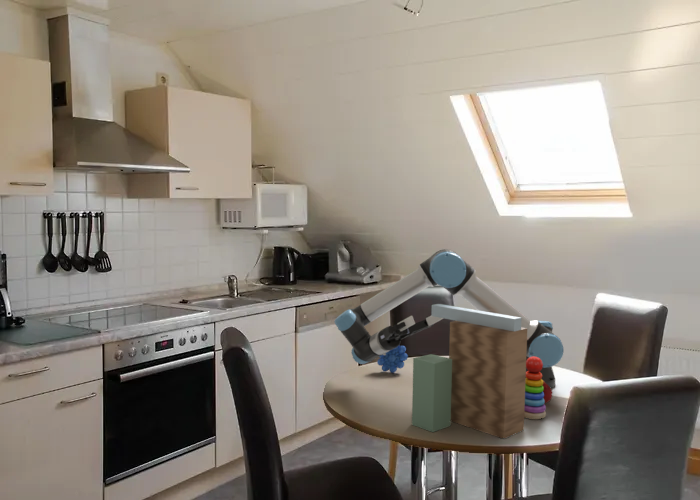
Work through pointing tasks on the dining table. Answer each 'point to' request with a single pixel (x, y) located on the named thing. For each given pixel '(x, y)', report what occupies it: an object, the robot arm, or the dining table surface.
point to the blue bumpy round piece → (393, 359)
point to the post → (432, 392)
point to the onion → (547, 392)
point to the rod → (477, 317)
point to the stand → (488, 378)
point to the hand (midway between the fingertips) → (427, 317)
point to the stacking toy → (534, 390)
